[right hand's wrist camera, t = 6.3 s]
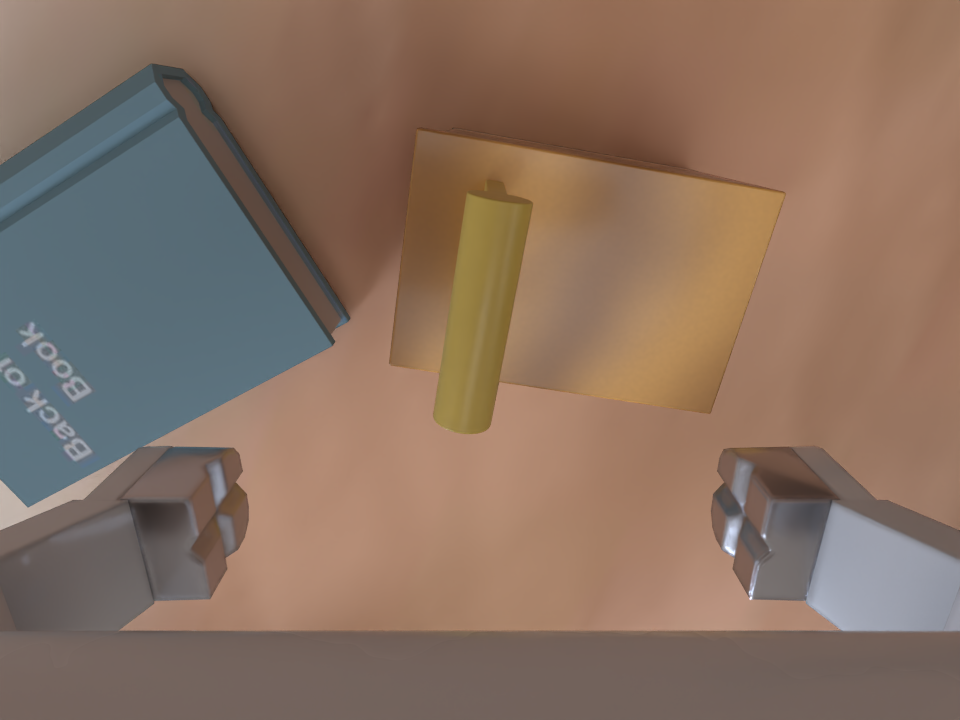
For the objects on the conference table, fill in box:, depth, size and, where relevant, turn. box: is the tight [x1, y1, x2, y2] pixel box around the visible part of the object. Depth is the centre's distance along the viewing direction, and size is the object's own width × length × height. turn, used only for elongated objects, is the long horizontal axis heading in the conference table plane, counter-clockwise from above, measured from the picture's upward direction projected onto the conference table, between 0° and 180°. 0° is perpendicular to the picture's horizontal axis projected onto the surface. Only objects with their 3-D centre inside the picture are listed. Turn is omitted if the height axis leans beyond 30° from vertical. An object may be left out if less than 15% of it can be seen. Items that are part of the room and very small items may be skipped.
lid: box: [389, 128, 786, 434], centre depth 22 cm, size 15×10×9 cm
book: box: [0, 64, 350, 507], centre depth 35 cm, size 23×16×5 cm
